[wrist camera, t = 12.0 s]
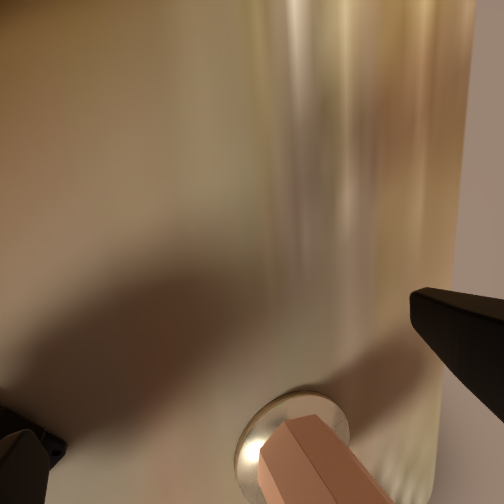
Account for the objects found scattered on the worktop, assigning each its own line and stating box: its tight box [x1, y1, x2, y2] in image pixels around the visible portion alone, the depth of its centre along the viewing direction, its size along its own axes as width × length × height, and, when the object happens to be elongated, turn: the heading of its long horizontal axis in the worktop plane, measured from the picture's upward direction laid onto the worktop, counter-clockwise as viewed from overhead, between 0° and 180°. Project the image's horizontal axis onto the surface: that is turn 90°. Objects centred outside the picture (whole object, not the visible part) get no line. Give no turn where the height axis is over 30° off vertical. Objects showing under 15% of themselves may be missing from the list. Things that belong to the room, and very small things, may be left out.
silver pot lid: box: [234, 391, 350, 504], centre depth 23 cm, size 10×10×5 cm
